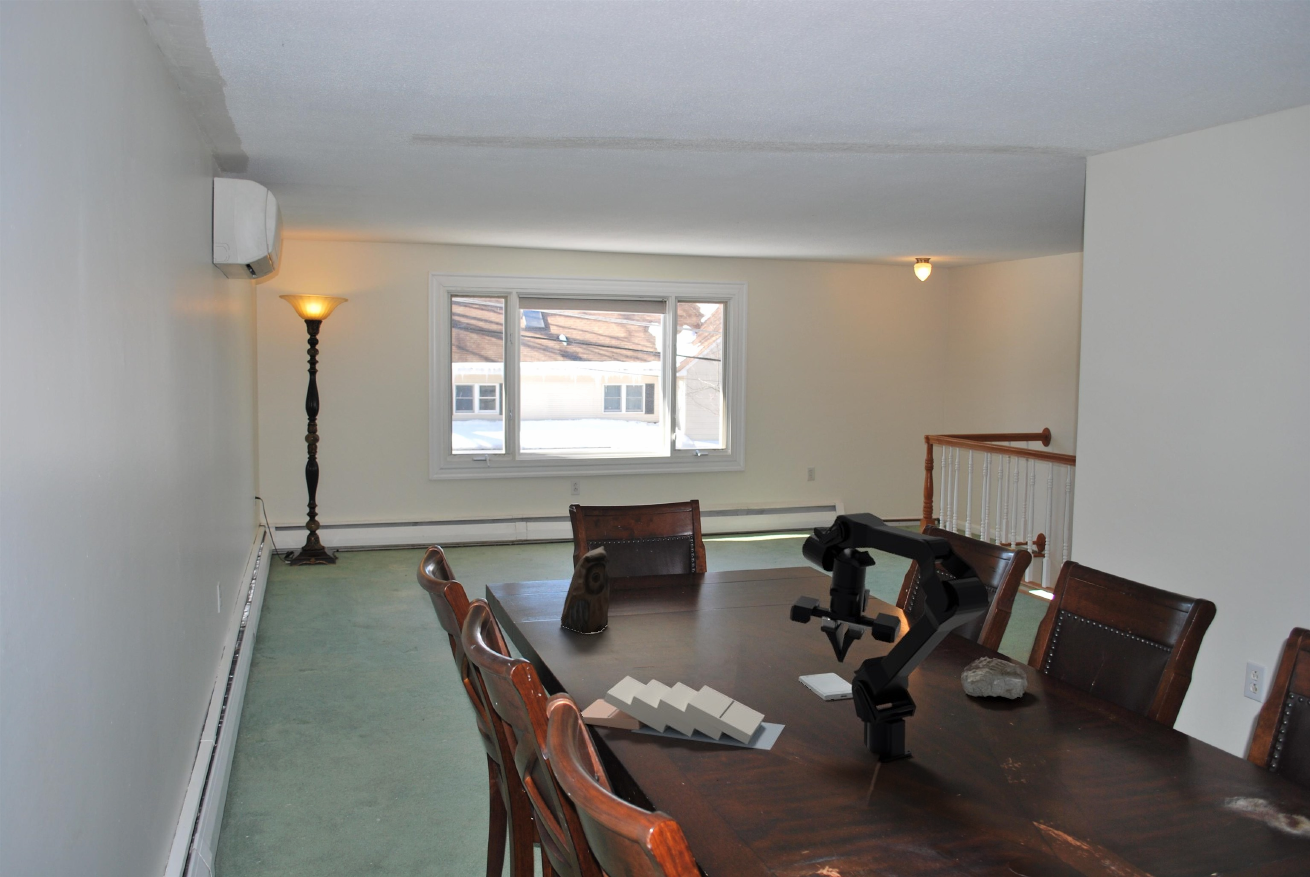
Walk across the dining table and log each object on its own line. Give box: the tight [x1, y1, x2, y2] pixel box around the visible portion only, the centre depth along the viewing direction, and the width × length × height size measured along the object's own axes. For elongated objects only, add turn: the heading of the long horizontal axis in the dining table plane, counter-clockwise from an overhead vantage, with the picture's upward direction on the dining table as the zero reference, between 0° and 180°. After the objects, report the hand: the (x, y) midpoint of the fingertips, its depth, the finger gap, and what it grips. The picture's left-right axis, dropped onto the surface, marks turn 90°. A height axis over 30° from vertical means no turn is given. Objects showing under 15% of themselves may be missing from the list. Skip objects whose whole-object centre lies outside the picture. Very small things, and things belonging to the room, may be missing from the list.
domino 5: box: [685, 684, 765, 744], centre depth 168 cm, size 2×10×12 cm
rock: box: [960, 656, 1029, 700], centre depth 189 cm, size 14×9×10 cm
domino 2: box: [603, 675, 669, 733], centre depth 173 cm, size 2×10×12 cm
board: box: [631, 721, 786, 751], centre depth 169 cm, size 25×12×1 cm, turn 70°
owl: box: [560, 545, 611, 633], centre depth 239 cm, size 13×13×20 cm
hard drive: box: [798, 672, 853, 701], centre depth 193 cm, size 2×8×12 cm
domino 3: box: [630, 679, 697, 737], centre depth 171 cm, size 2×10×12 cm
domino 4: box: [657, 681, 724, 740], centre depth 170 cm, size 2×10×12 cm
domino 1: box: [580, 698, 645, 730], centre depth 175 cm, size 2×10×12 cm
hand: (841, 661), depth 171 cm, fingers closed
